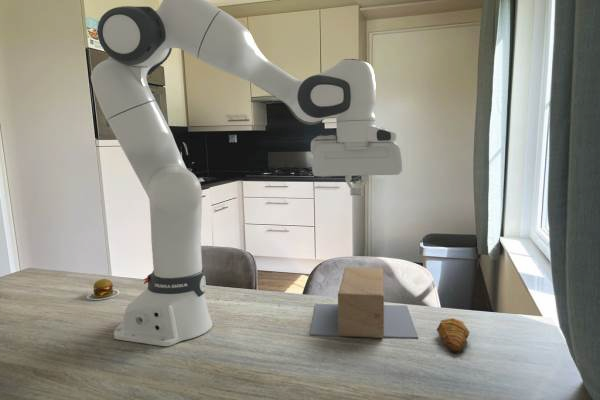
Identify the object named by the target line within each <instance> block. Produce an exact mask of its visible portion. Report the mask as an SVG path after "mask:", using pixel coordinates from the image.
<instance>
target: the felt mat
mask: <svg viewBox="0 0 600 400" xmlns="http://www.w3.org/2000/svg"><path fill="white" fill-rule="evenodd" d="M412 318H413V317H412V316H411V313H410V311H409V308H408V305H399V304H398V305H395V304H393V305H392V304H390V305H389V304H384V336H383V338H391V339H392V338H395V339H419V335H418V332H417V330H416V327H415V324H414V321H413V319H412ZM309 336H312V337H313V336H314V337H315V336H316V337H318V336H319V337H342V336H341V335H339V333H338V303H315V307H314V312H313V317H312V321H311V325H310V331H309ZM348 337H349V338H350V337H353V338H354V337H355V338H356V337H358V336H348ZM358 338H359V337H358Z"/></svg>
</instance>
